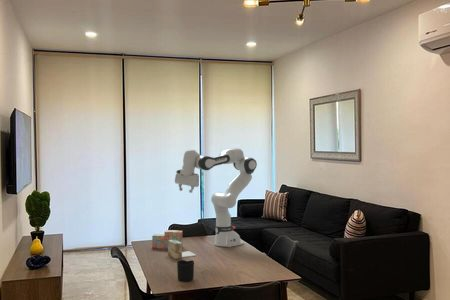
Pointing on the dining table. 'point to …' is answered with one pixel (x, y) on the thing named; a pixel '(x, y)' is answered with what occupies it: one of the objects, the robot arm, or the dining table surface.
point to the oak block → (175, 249)
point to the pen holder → (185, 270)
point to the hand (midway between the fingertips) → (185, 191)
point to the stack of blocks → (166, 238)
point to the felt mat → (187, 254)
